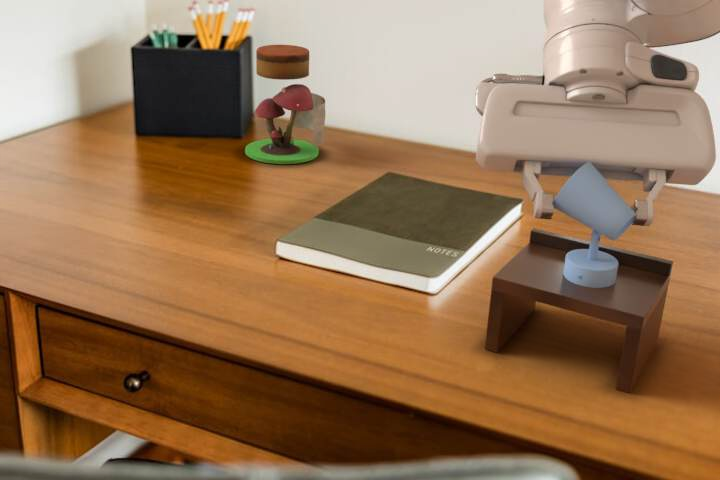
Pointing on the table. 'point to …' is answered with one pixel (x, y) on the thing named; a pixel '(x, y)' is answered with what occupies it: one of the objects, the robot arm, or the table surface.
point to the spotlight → (593, 225)
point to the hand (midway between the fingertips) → (593, 220)
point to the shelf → (582, 296)
